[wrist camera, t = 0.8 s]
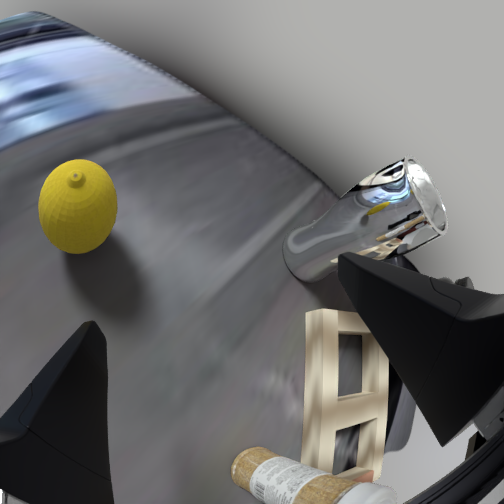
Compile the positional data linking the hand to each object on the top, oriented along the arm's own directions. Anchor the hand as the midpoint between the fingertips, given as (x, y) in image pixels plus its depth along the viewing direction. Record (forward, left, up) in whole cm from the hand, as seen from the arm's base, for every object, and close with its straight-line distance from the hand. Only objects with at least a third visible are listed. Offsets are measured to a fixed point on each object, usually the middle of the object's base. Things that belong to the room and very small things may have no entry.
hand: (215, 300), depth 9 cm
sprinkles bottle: (-12, -9, -13) cm, 20 cm away
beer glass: (+9, -15, -13) cm, 22 cm away
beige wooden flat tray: (-7, -20, -13) cm, 25 cm away
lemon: (+6, +7, -13) cm, 16 cm away
